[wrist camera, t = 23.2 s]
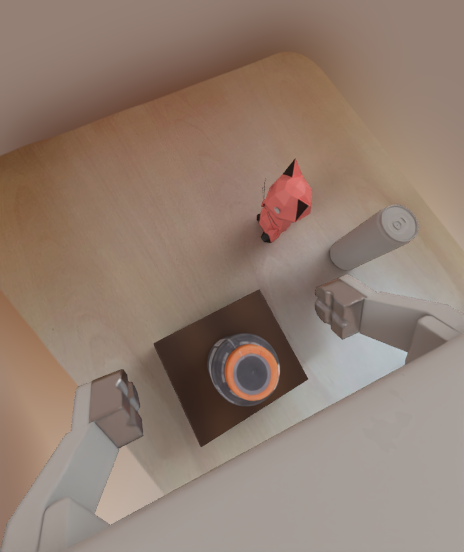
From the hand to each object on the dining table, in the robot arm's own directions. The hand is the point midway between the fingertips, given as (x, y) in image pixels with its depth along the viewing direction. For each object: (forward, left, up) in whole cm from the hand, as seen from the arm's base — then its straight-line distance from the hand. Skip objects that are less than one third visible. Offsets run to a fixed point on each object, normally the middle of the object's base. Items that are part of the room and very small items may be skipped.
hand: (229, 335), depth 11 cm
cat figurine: (+17, +10, -26) cm, 33 cm away
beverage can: (+25, +1, -26) cm, 36 cm away
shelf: (+2, -4, -26) cm, 26 cm away
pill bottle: (+2, -4, -21) cm, 22 cm away
